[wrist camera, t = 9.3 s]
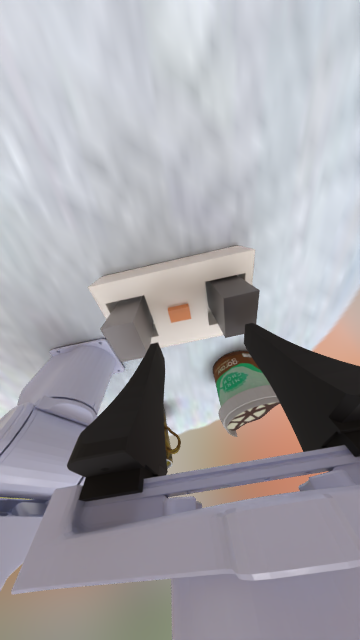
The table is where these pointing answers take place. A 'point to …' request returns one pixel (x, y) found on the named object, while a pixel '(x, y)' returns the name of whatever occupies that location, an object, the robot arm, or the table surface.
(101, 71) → the table surface
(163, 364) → the robot arm
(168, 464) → the ceramic cup
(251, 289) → the dark grey square prism
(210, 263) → the power strip
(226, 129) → the table surface
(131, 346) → the charcoal plug
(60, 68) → the table surface
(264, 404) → the food container
